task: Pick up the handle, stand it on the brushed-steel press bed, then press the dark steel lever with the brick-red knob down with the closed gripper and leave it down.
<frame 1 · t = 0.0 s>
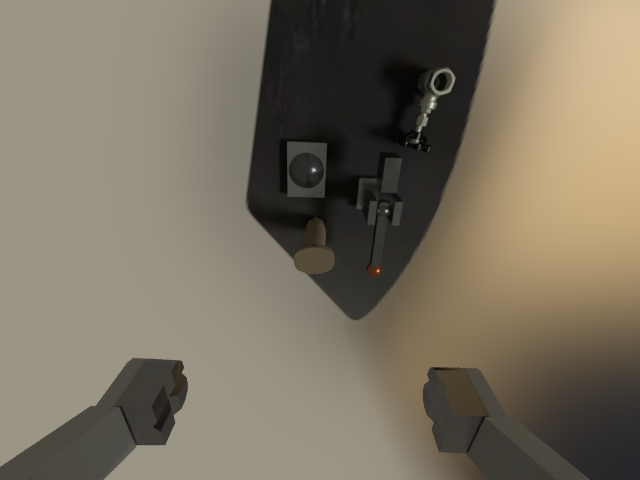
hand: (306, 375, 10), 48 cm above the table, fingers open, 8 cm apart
lever: (381, 221, 49), point 9 cm above the table, hinge at 0.0°
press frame: (306, 169, 54), on the table
handle: (315, 222, 60), on the table
valve: (418, 108, 50), on the table
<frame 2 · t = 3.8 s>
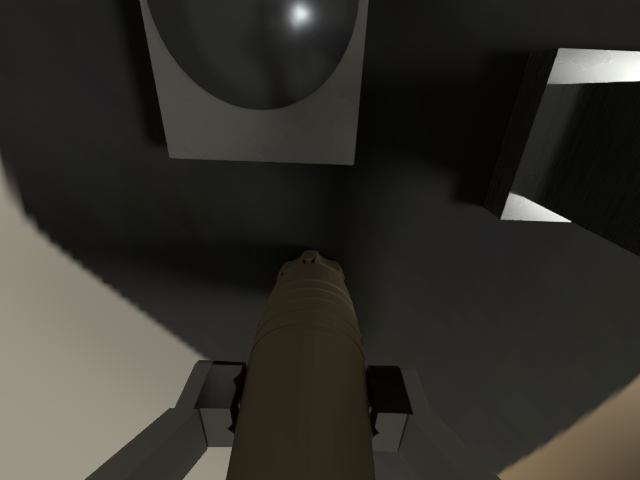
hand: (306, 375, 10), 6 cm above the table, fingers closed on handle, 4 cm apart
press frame: (262, 7, 10), on the table
handle: (311, 272, 15), on the table, touching gripper
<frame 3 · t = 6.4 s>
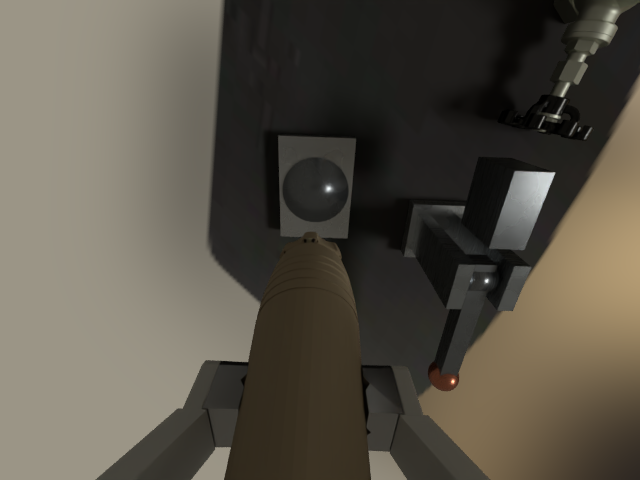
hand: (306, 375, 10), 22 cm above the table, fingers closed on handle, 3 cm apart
lever: (469, 296, 24), point 10 cm above the table, hinge at 0.0°
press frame: (315, 186, 30), on the table
handle: (311, 253, 17), point 14 cm above the table, touching gripper
valve: (548, 53, 25), on the table
when the fingers open (8 cm above the table, at t = 9.1 s): handle stays where it is, resting on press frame.
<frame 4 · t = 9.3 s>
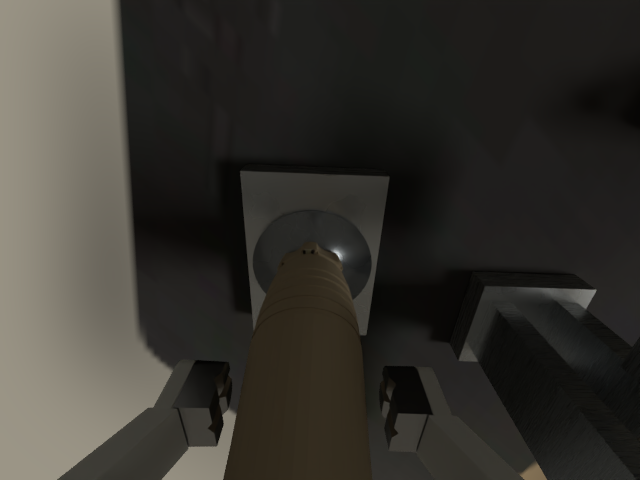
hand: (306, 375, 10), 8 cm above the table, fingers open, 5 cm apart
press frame: (312, 251, 17), on the table
handle: (311, 263, 16), point 2 cm above the table, touching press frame
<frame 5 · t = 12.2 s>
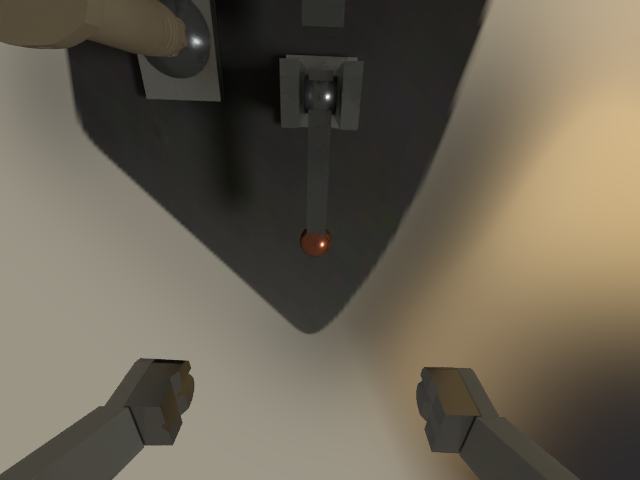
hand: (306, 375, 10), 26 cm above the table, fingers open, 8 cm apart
lever: (319, 126, 21), point 9 cm above the table, hinge at 0.0°
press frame: (180, 39, 27), on the table
handle: (172, 35, 25), point 2 cm above the table, touching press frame
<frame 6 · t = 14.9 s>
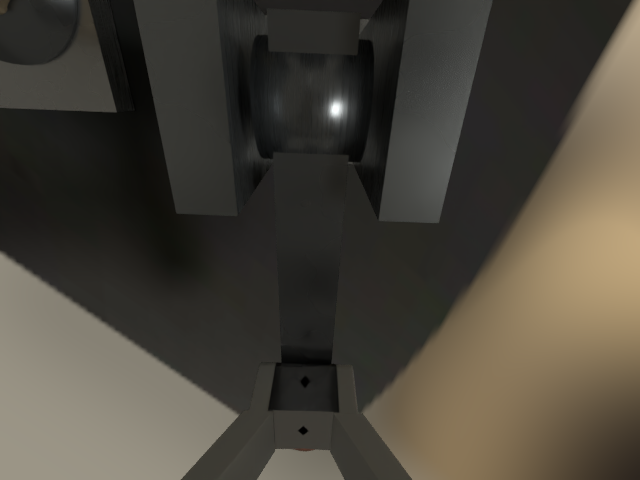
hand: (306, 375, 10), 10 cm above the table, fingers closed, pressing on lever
lever: (310, 192, 7), point 9 cm above the table, hinge at 2.5°, touching gripper
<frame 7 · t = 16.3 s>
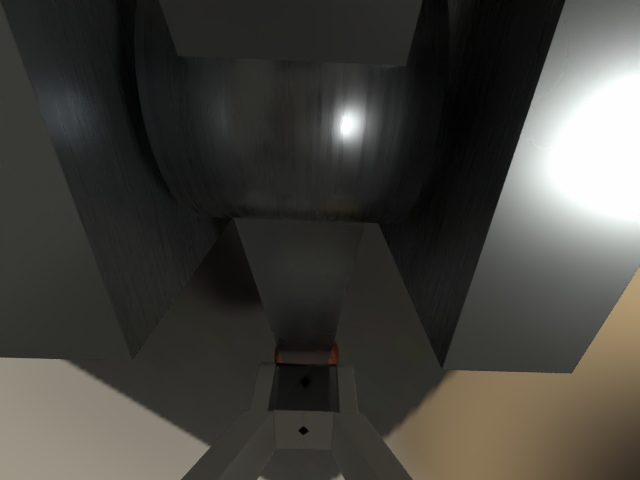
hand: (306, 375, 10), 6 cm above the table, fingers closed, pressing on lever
lever: (303, 224, 5), point 9 cm above the table, hinge at 28.6°, touching gripper
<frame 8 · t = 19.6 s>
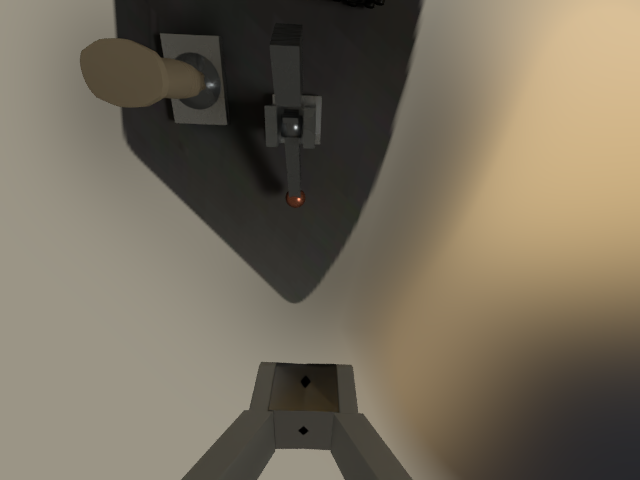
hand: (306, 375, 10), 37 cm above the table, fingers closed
lever: (292, 141, 34), point 9 cm above the table, hinge at 28.6°
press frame: (199, 82, 38), on the table
handle: (194, 81, 37), point 2 cm above the table, touching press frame
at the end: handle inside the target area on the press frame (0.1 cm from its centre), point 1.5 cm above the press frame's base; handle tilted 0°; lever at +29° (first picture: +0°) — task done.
